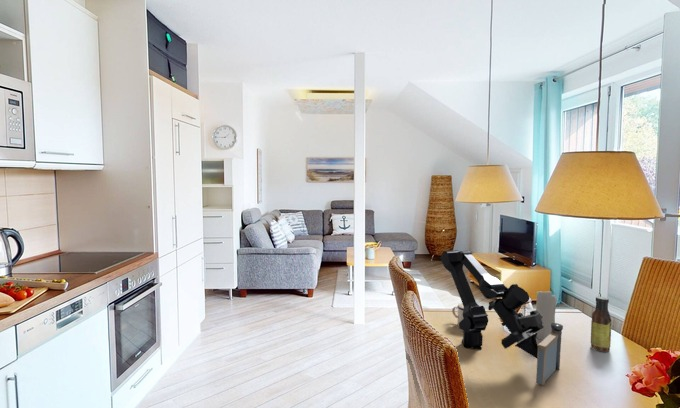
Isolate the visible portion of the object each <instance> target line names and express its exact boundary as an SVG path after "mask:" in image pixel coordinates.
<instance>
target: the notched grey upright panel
mask: <svg viewBox="0 0 680 408" xmlns="http://www.w3.org/2000/svg"><path fill="white" fill-rule="evenodd" d="M557 301H558V299H557V297H556V295H555V294H554V295H553V294H552V291H549V290H548V291H542V290H540V291H537V292H536V305H535V310H537V311H538V312H539V313H540V315H542V316H543V318H542V319H541V320H542V322H543V324H542V325H543V327H544V328H542V329H540V330H539V331H537V332H535V333H538V334H537V336H536V339H538V340H541V341H543V340H544V339H545V338H546V337H547V336H548V335H549V334H550V333H551V329H552V328H551V323H556V320H555V319H556V307H557ZM535 333H534V334H535Z"/></svg>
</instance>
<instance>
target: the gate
mask: <svg viewBox="0 0 680 408" xmlns="http://www.w3.org/2000/svg"><path fill="white" fill-rule="evenodd" d="M557 339H558V334H556V333H553V332H551V333H550V334H549V335H548V336H547V337H546V338H545V339H544V340H541V342H539V343H537V345H538V355H537V358H536V375H535V376H536V377H535V384H538V385H540V386H544V385H545V383H546V381H547V380H548V379H549V378H550V377H551V375H552V374H553V372H555V371H556V370H555V369H556V353H557Z"/></svg>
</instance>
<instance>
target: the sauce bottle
mask: <svg viewBox="0 0 680 408" xmlns="http://www.w3.org/2000/svg"><path fill="white" fill-rule="evenodd" d="M609 301H610V299H609V298H608V297H605V296H596V297H595V309H594V310H593V312H592V313H591V322H590V323H591V324H590V347H591V349H593V350H595V351H597V352H603V353H608V352H610V349H611V343H612V342H611V341H612V339H611V338H612V318H611V315H610V312H609V309H608V307H609Z"/></svg>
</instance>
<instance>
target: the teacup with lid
mask: <svg viewBox="0 0 680 408" xmlns="http://www.w3.org/2000/svg"><path fill="white" fill-rule="evenodd" d="M456 309H457V314H456V311H455V310H456ZM463 309H464V306H463V303H462V302H460V303H458V305H457V306H454V307H452V311H451V312H452V315H453V316H454V318H456V319H457V324H456V325H457V326H458V327H459V322H460V321H462V320H463V319H464V318H463Z"/></svg>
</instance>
